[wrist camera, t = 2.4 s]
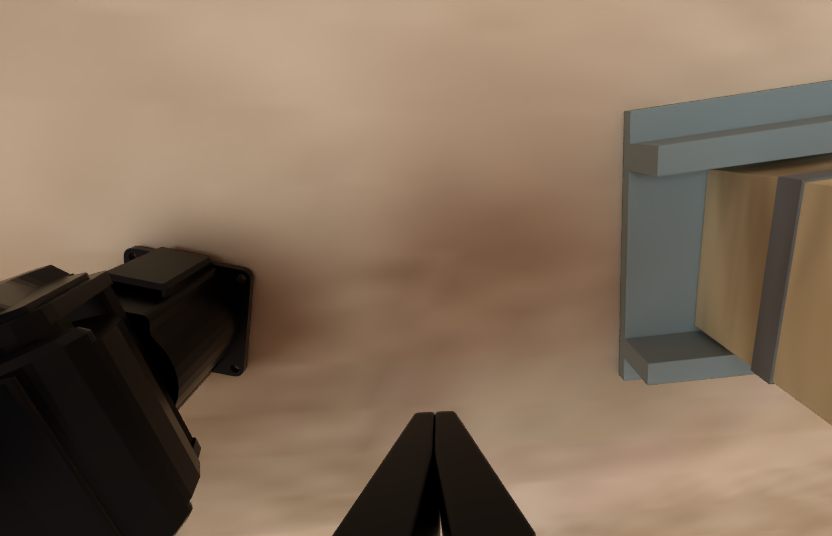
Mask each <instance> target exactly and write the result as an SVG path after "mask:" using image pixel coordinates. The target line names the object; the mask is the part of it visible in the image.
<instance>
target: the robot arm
mask: <svg viewBox="0 0 832 536" xmlns="http://www.w3.org/2000/svg"><path fill="white" fill-rule="evenodd" d="M134 253H135V254H137V255H138V258H136V257H135V256H134ZM240 274H242V275H244V276H245V278H246V281H243V280H241V279H240V276H239V275H240ZM253 281H254V276H253V273H252V272H251V271H250V270H249V269H247V268H245V267H240V266H235V265H230V264H225V263H220V262H215V261H213V260H212V259H211V258H210V257H209V256H205V255H200V254H195V253H190V252H185V251H180V250H175V249H170V248H165V247H160V248H158V249H151V248H146V247H141V246H134V247H132V248H129V249H127V250H126V251H125V252H124V264H122V265H120V266H117V267H115V268H113V269H111V270H108V271H102V272H98V273H94V274H90V275H88V274H87V273H81V274H76V275H74V274H69V273H67V272H65V271H63V270H61V269H59V268H56V267H54V266H52V265H49V266H45V267H41V268H37V269H34V270H32V271H29V272H26V273H23V274H20V275H17V276H15V277H12V278H9V279H6V280H4V281H1V282H0V536H175V535H176V534H177V532H178V531H179V529H180V528H181V527H182V525H183V524H184V523H185V521H186V520H187V518H188V517H189V515H190V513H191V511H192V509H193V507H192V504H191V502H190V499H191V498H192V495H193V493H194V490H195V488H196V485H197V483H198V480H199V478H200V461H199V459H198V457H199V454H200V450H201V447H200V445H199V443H198V441H197V439H196V438H192V436H191V434H190V432H189V430H188V428H187V426H186V425H185V423H184V421H183V419H182V417H181V415H180V413H179V412H178V410H179V409H180V407H181V406H182V405H183V404H184V403H185V402H186V401H187V399H188V398H189V397H190V396H191V395H192V394H193V393H194V392H195V390H196V389H197V388H198V387H199V386H200V385H201V384H202V383H203V381H204V380H205V379H206V378H207V377H208V376H209V375H210V374H211V372H215V373H220V374H225V375H231V376H240V375H241V374H242V373H243V372H244V371H245V369H246V367H247V356H248V343H249V331H250V318H251V306H252V294H253ZM234 365H237V366H238V367H239V369H237V368H235V367H234ZM440 518H441V528H442V536H536V534H535V532H534V530H533V529H532V527H531V526H530V524H529V523H528V521H527V520H526V518H525V517H524V515H523V514H522V512H521V511H520V509H519V508H518V506H517V505H516V503H515V502H514V500H513V499H512V497H511V496H510V494H509V493H508V491H507V490H506V488H505V487H504V485H503V484H502V482H501V481H500V479H499V478H498V476H497V474H496V473H495V471H494V470H493V468H492V467H491V465H490V464H489V462H488V461H487V459H486V458H485V456H484V455H483V453H482V452H481V450H480V449H479V447H478V446H477V444H476V443H475V441H474V440H473V438H472V437H471V435H470V434H469V432H468V431H467V429H466V428H465V426H464V425H463V423H462V422H461V420H460V419H459V417H458V416H457V414H456V413H455V412H454V411H441V412H437V413H436V414H434V413H433V412H419V413H416V414H414V416H413V417H412V419H411V420H410V422H409V423H408V425H407V426H406V428H405V429H404V430H403V432H402V433H401V435H400V436H399V438H398V439H397V441H396V442H395V444H394V445H393V447H392V448H391V450H390V451H389V453H388V454H387V456H386V457H385V459H384V460H383V462H382V463H381V464H380V466H379V467H378V469H377V470H376V472H375V473H374V475H373V476H372V478H371V479H370V481H369V482H368V484H367V485H366V487H365V488H364V490H363V491H362V493H361V494H360V496H359V497H358V498H357V500H356V501H355V503H354V504H353V506H352V507H351V509H350V510H349V512H348V513H347V515H346V516H345V518H344V519H343V521H342V522H341V524H340V525H339V527H338V528H337V530H336V531H335V532H334V534H333V535H332V536H440Z"/></svg>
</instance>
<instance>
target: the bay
mask: <svg viewBox="0 0 832 536" xmlns="http://www.w3.org/2000/svg"><path fill="white" fill-rule="evenodd" d="M831 152H832V80H831V81H824V82H818V83H811V84H804V85H798V86H791V87H784V88H778V89H771V90H765V91H758V92H751V93H745V94H738V95H731V96H725V97H718V98H711V99H705V100H698V101H691V102H685V103H678V104H671V105H665V106H658V107H651V108H645V109H638V110H631V111H625V112H624V152H623V201H622V250H621V299H620V348H619V375H620V376H621V378H622V379H623V380H634V379H642V380H643V381H644V382H645V383H646V384H647V385H654V384H664V383H674V382H683V381H693V380H703V379H713V378H722V377H732V376H742V375H751V374H755V373H754V372H752V371H751V366H750V365H748V364H747V363H746V362H744V361H743V360H742V359H740V358H739V357H738V356H736V355H735V354H733V353H732V352H731V351H729V350H728V349H727V348H725V347H724V346H723V345H721V344H720V343H718V342H717V341H716V340H714V339H713V338H712V337H710V336H709V335H707V334H706V333H705V332H703V331H702V330H701V329H699V328H698V327H697V326H695V314H696V302H697V291H698V279H699V267H700V256H701V244H702V233H703V221H704V210H705V198H706V186H707V175H708V169H716V168H723V167H730V166H737V165H745V164H752V163H759V162H766V161H773V160H781V159H788V158H795V157H802V156H810V155H817V154H824V153H831Z"/></svg>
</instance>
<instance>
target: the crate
mask: <svg viewBox="0 0 832 536" xmlns="http://www.w3.org/2000/svg"><path fill="white" fill-rule="evenodd" d="M695 326H697V327H698V328H699V329H701V330H702V331H703V332H705V333H706V334H707V335H709V336H710V337H712V338H713V339H714V340H716V341H717V342H718V343H720V344H721V345H723V346H724V347H725V348H727V349H728V350H729V351H731V352H732V353H733V354H735V355H736V356H738V357H739V358H740V359H742V360H743V361H744V362H746V363H747V364H748V365H750V366H751V371H752V372H754V373H755V374H756V375H758V376H759V377H760V378H762V379H763V380H764V381H766V382H767V383H768V384H776V385H777V386H779V387H780V388H781V389H783V390H784V391H785V392H787V393H788V394H790V395H791V396H792V397H794V398H795V399H796V400H798V401H799V402H800V403H802V404H803V405H805V406H806V407H807V408H809V409H810V410H811V411H813V412H814V413H815V414H817V415H818V416H820V417H821V418H822V419H824V420H825V421H826V422H828V423H829V424H831V425H832V152H831V153H824V154H817V155H810V156H802V157H795V158H788V159H781V160H773V161H766V162H759V163H752V164H745V165H737V166H730V167H723V168H716V169H708V175H707V186H706V198H705V210H704V221H703V233H702V244H701V256H700V267H699V279H698V291H697V302H696V314H695Z"/></svg>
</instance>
